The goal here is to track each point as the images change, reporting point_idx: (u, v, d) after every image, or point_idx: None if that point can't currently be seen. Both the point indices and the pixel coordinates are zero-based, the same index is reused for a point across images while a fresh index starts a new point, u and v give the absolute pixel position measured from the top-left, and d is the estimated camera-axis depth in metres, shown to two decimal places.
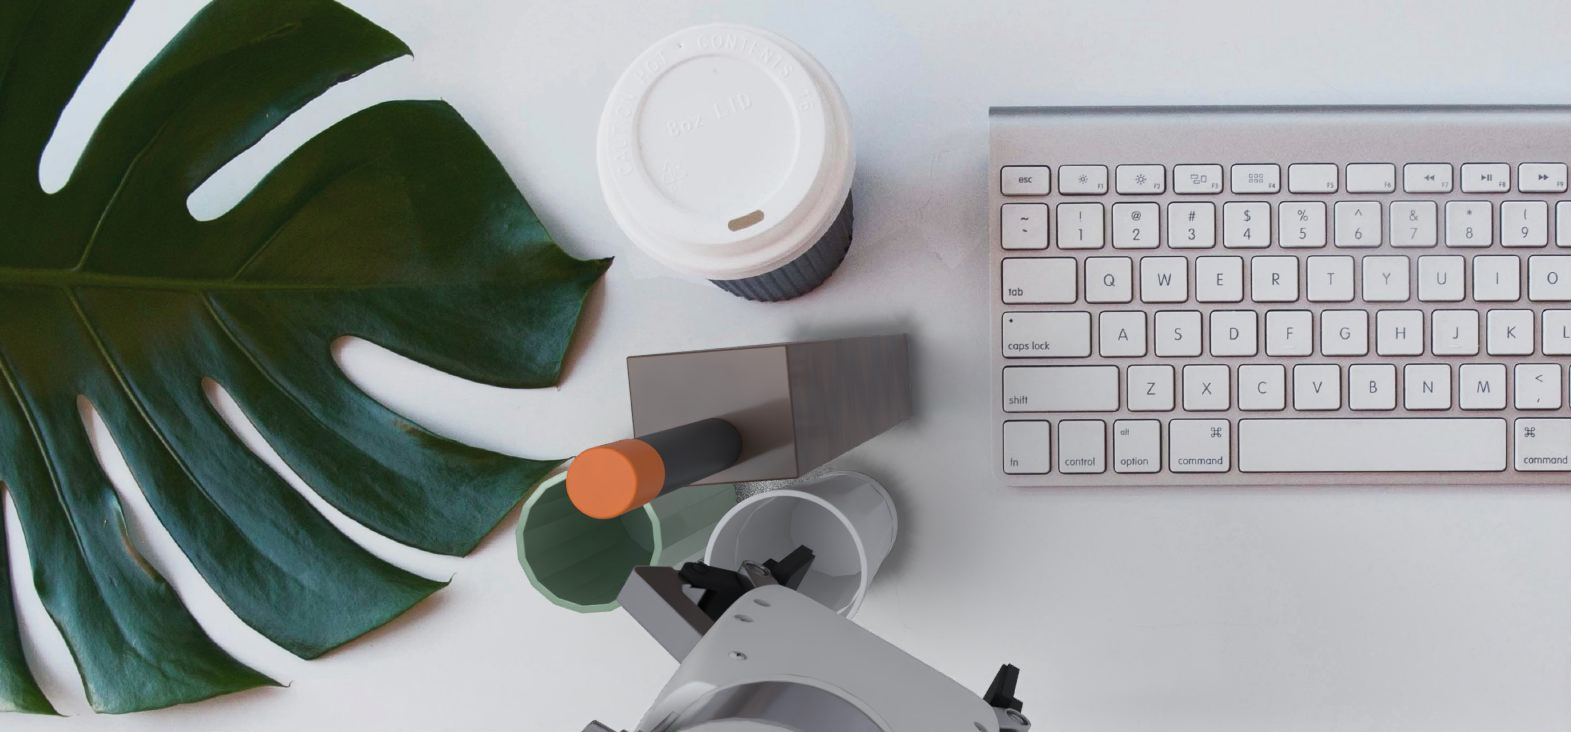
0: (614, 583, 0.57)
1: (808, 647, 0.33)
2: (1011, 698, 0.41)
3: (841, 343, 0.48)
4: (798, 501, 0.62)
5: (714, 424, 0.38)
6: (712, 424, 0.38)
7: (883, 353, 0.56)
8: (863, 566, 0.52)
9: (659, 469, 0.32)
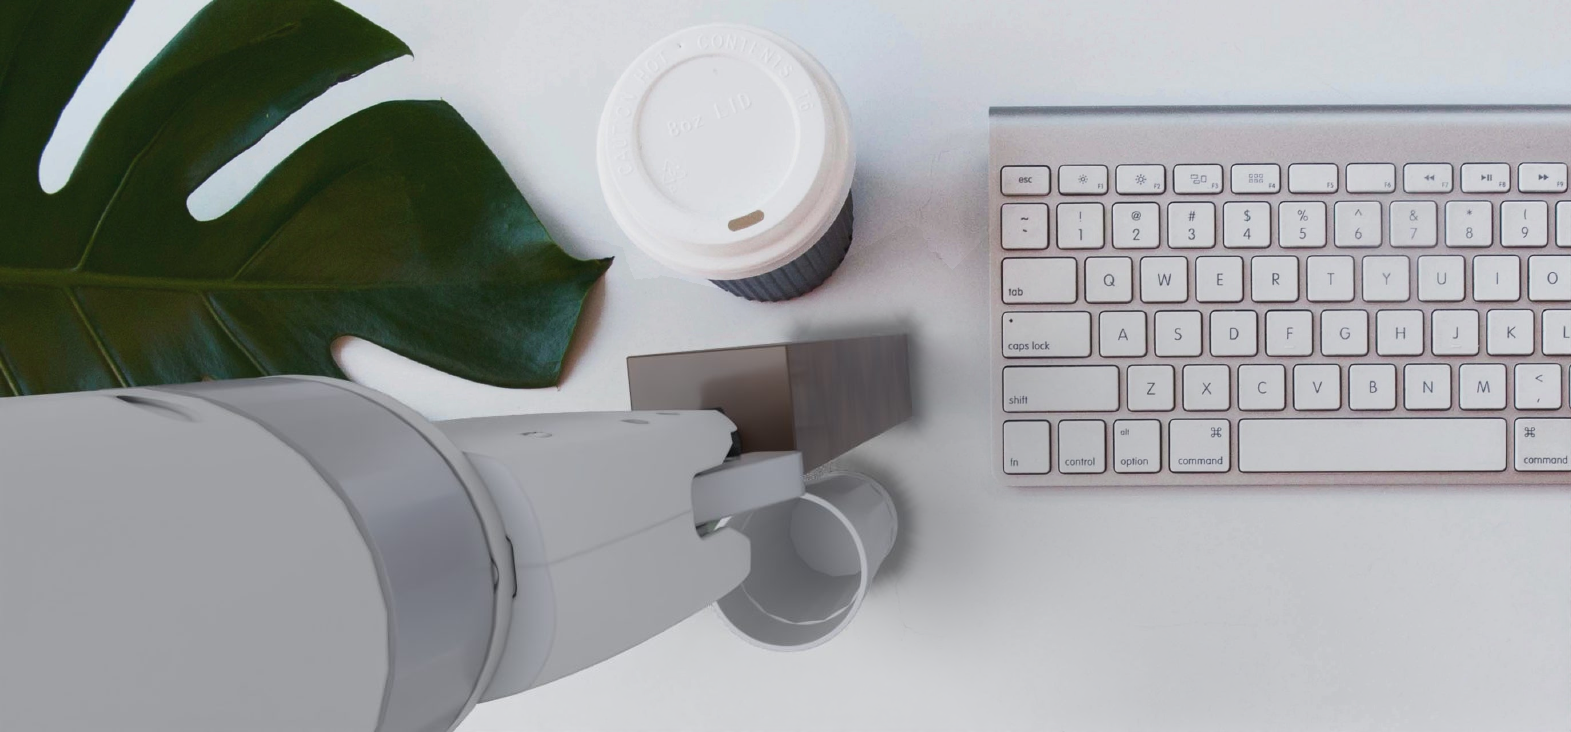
0: None
1: None
2: None
3: (841, 343, 0.48)
4: (798, 501, 0.62)
5: None
6: None
7: (883, 353, 0.56)
8: (863, 566, 0.52)
9: None
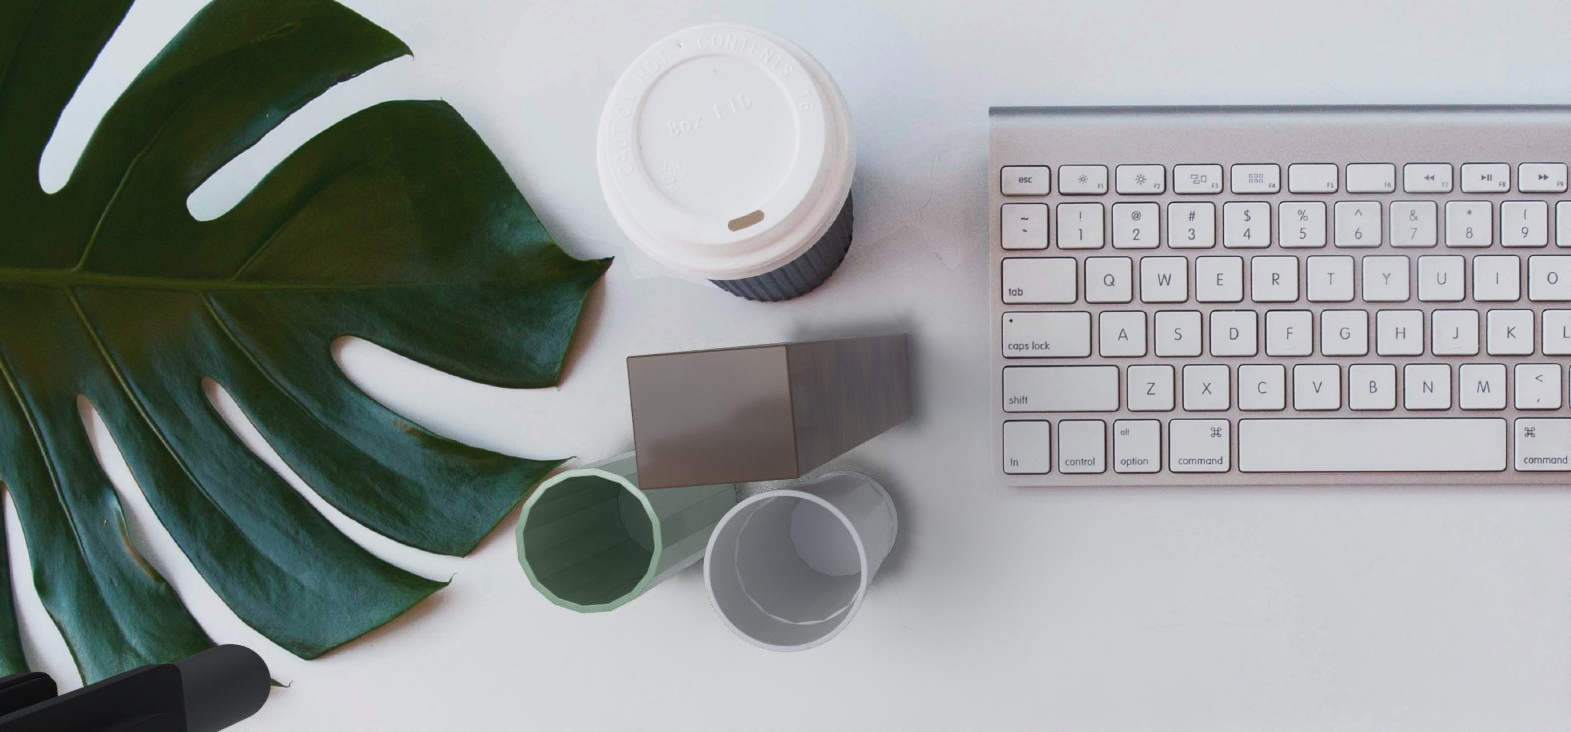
0: (614, 583, 0.57)
1: None
2: (2, 723, 0.20)
3: (841, 343, 0.48)
4: (798, 501, 0.62)
5: (209, 663, 0.26)
6: (204, 664, 0.26)
7: (883, 353, 0.56)
8: (863, 566, 0.52)
9: None
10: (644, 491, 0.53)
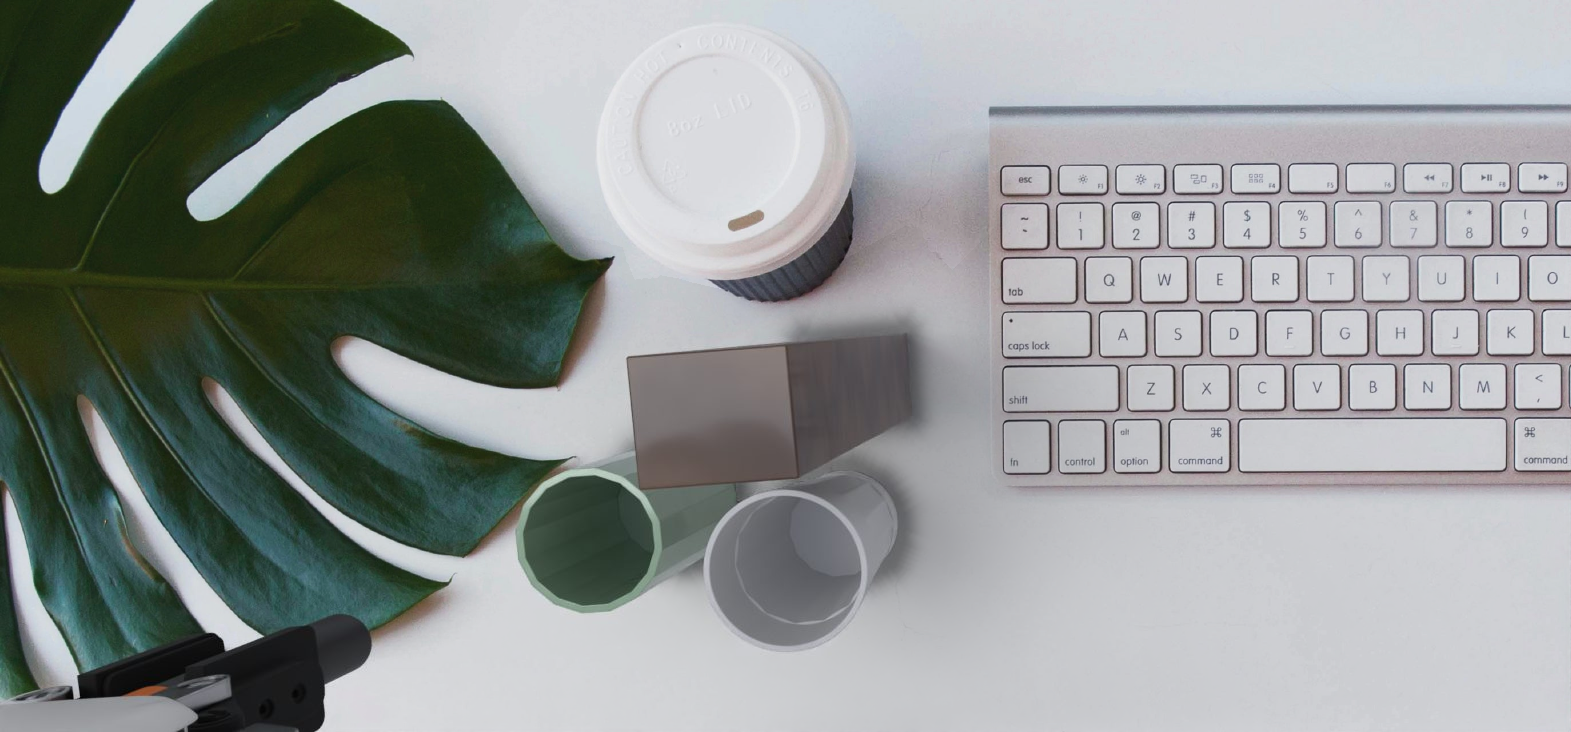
0: (614, 583, 0.57)
1: None
2: (206, 664, 0.29)
3: (841, 343, 0.48)
4: (798, 501, 0.62)
5: (328, 627, 0.35)
6: (325, 628, 0.34)
7: (883, 353, 0.56)
8: (863, 566, 0.52)
9: None
10: (644, 491, 0.53)
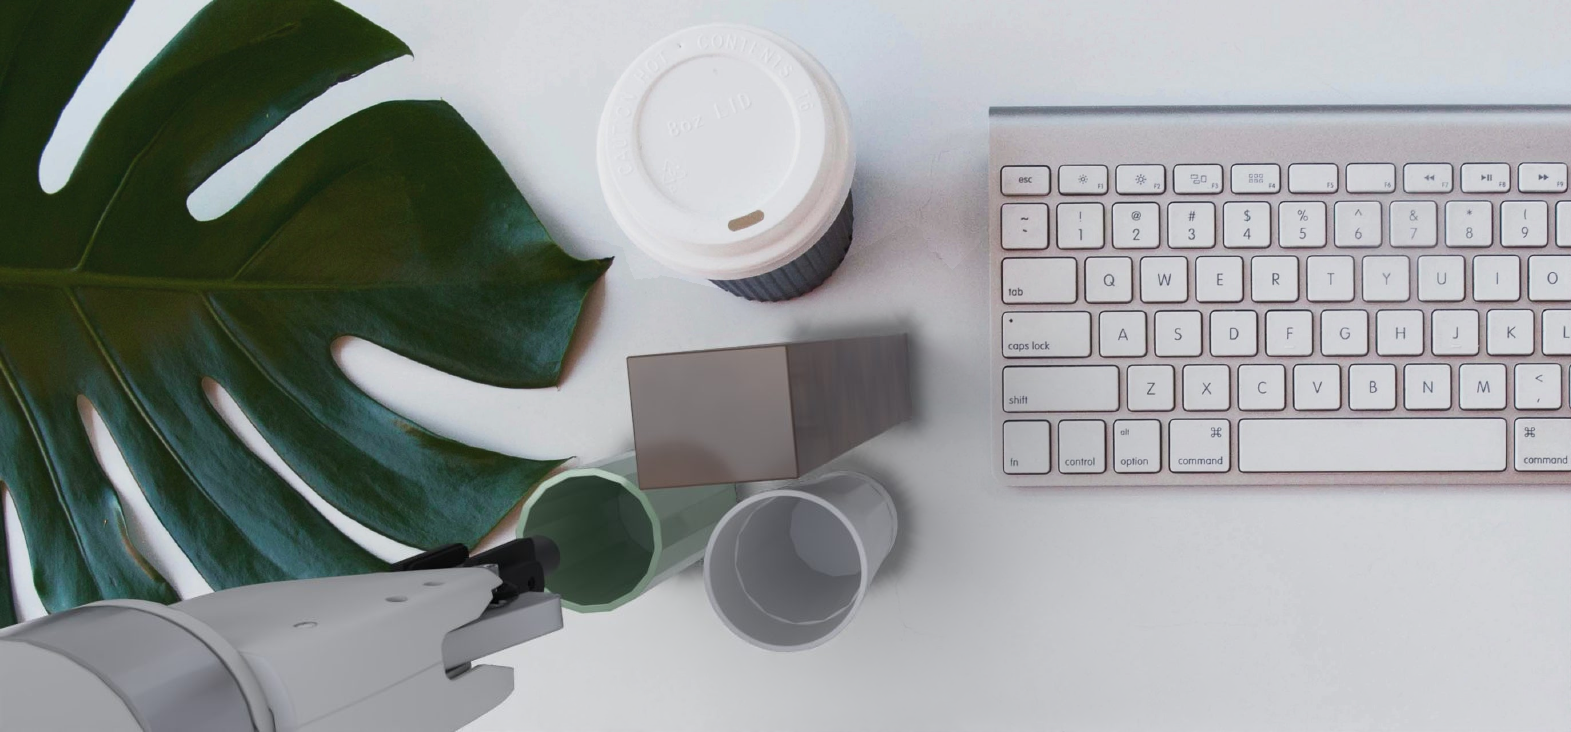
0: (614, 583, 0.57)
1: (193, 606, 0.33)
2: (478, 557, 0.41)
3: (841, 343, 0.48)
4: (798, 501, 0.62)
5: None
6: None
7: (883, 353, 0.56)
8: (863, 566, 0.52)
9: None
10: (644, 491, 0.53)
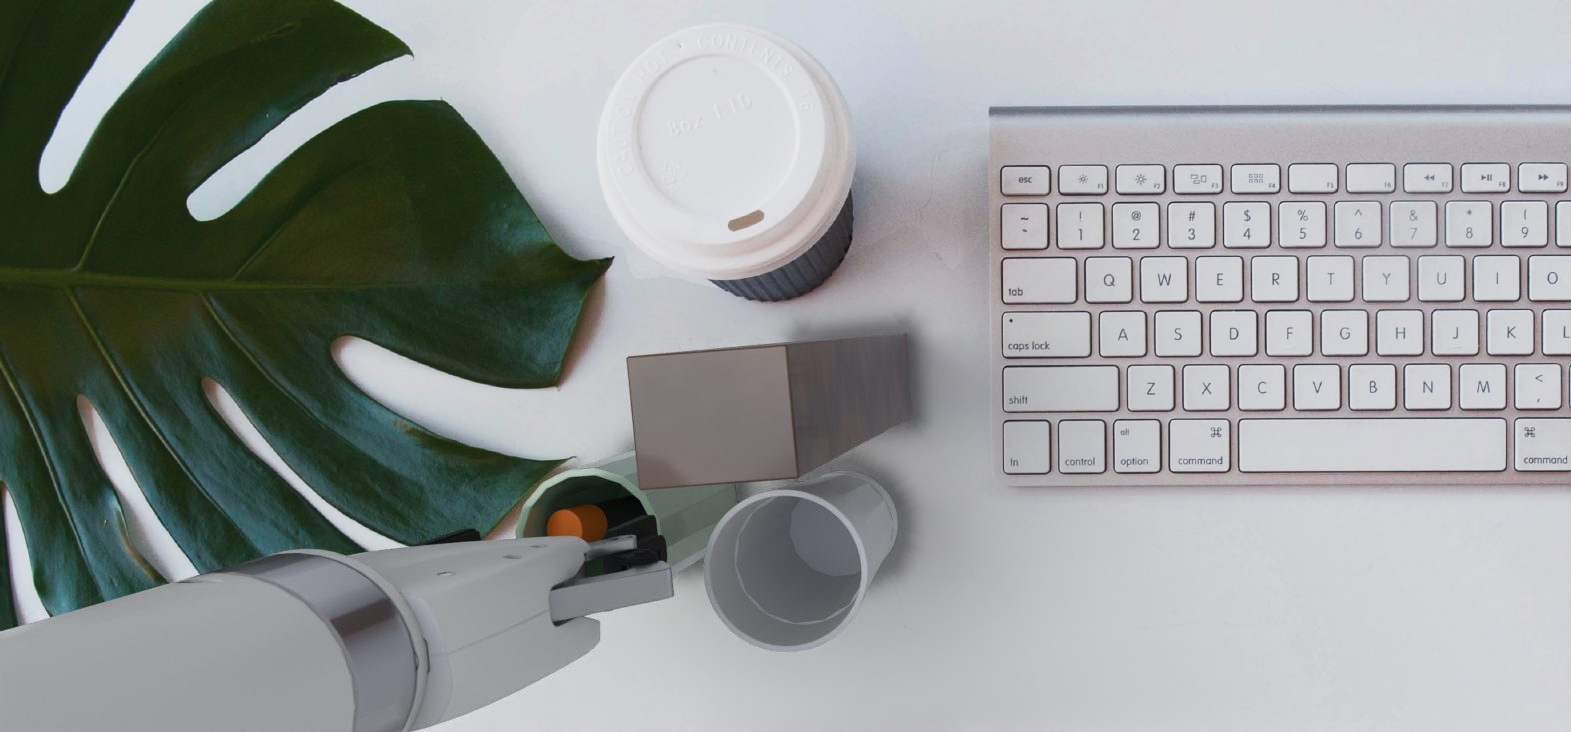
0: None
1: None
2: (617, 529, 0.47)
3: (841, 343, 0.48)
4: (798, 501, 0.62)
5: None
6: None
7: (883, 353, 0.56)
8: (863, 566, 0.52)
9: (602, 522, 0.56)
10: (644, 491, 0.53)
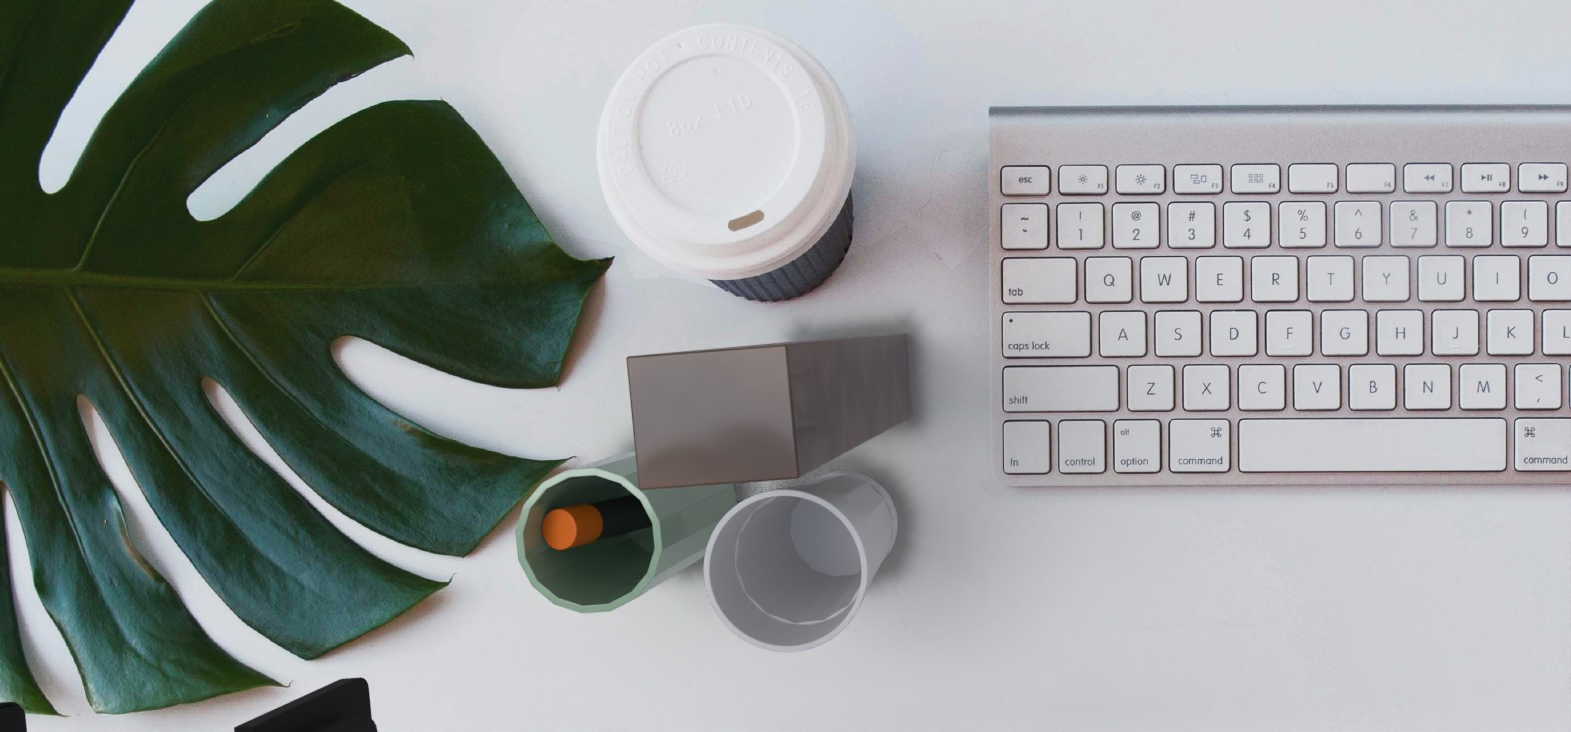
0: (614, 583, 0.57)
1: None
2: (257, 724, 0.26)
3: (841, 343, 0.48)
4: (798, 501, 0.62)
5: None
6: None
7: (883, 353, 0.56)
8: (863, 566, 0.52)
9: (597, 522, 0.56)
10: (644, 491, 0.53)
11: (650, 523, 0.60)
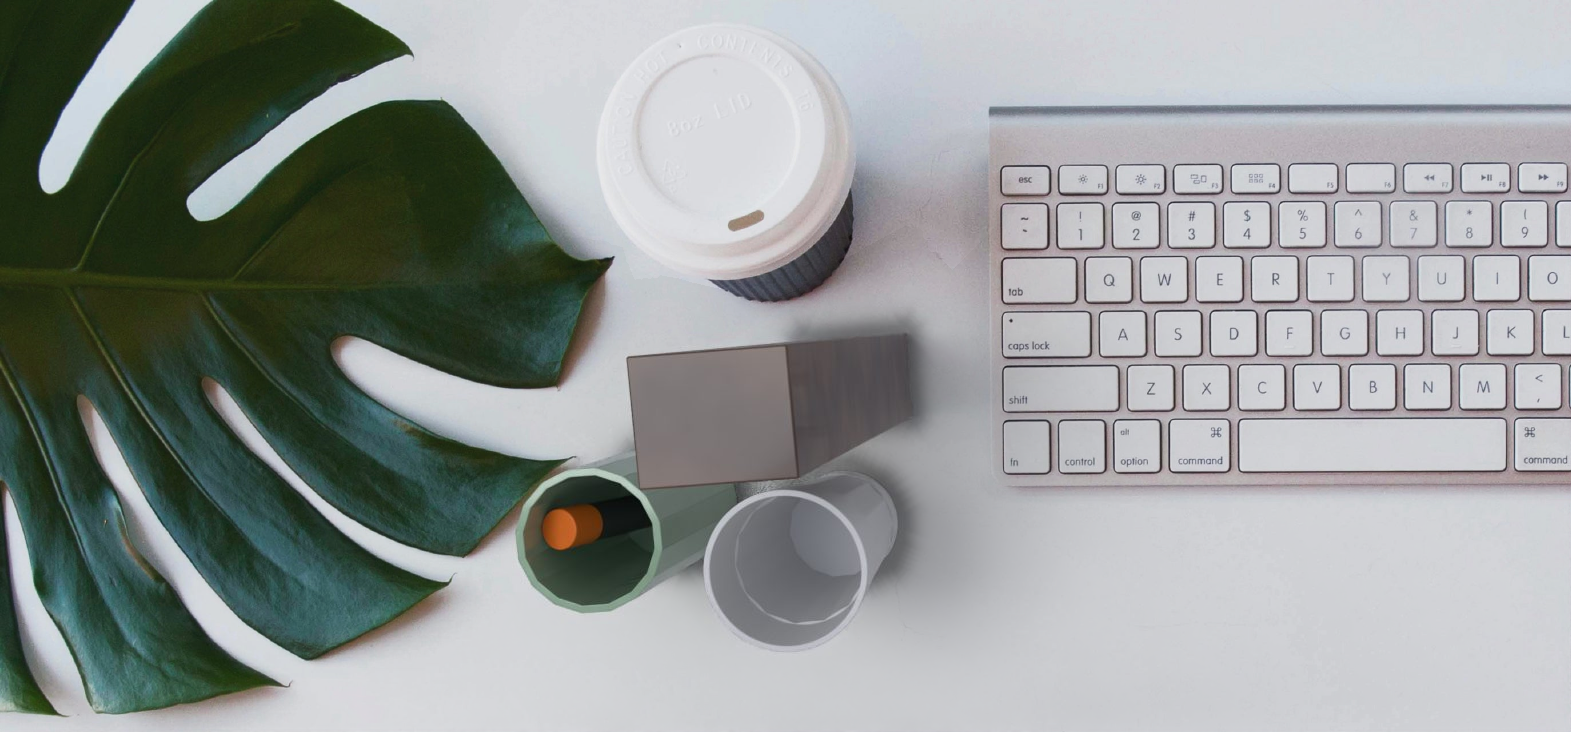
0: (614, 583, 0.57)
1: None
2: None
3: (841, 343, 0.48)
4: (798, 501, 0.62)
5: None
6: None
7: (883, 353, 0.56)
8: (863, 566, 0.52)
9: (597, 522, 0.56)
10: (644, 491, 0.53)
11: (650, 523, 0.60)
